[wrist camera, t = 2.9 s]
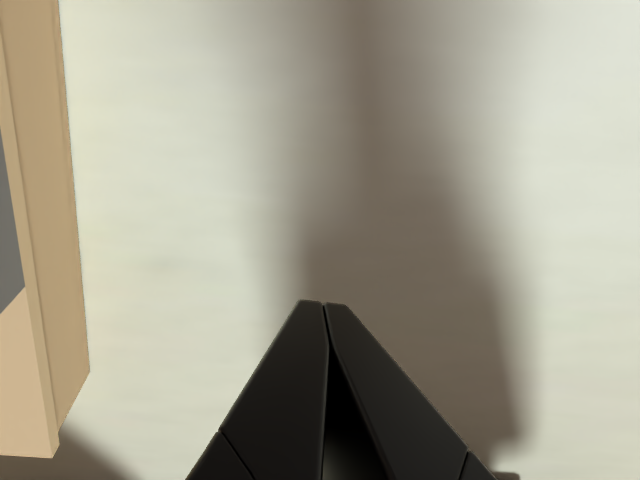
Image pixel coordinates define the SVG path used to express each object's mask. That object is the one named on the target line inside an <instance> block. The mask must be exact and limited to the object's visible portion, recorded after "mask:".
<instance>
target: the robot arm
mask: <svg viewBox="0 0 640 480" xmlns="http://www.w3.org/2000/svg"><path fill="white" fill-rule="evenodd" d="M468 450H469V447H468V445H467V444H466V443H465V442H464V441H463V440H462V439H461V437H460V436H459V435H458V434H457V433H456V432H455V430H454V429H453V428H452V427H451V426H450V425H449V423H448V422H447V421H446V420H445V419H444V418H443V417H442V415H441V414H440V413H439V412H438V411H437V410H436V408H435V407H434V406H433V405H432V404H431V403H430V401H429V400H428V399H427V398H426V397H425V396H424V394H423V393H422V392H421V391H420V390H419V389H418V388H417V386H416V385H415V384H414V383H413V382H412V381H411V379H410V378H409V377H408V376H407V375H406V374H405V372H404V371H403V370H402V369H401V368H400V367H399V365H398V364H397V363H396V362H395V361H394V360H393V359H392V357H391V356H390V355H389V354H388V353H387V352H386V350H385V349H384V348H383V347H382V346H381V345H380V343H379V342H378V341H377V340H376V339H375V338H374V336H373V335H372V334H371V333H370V332H369V331H368V330H367V328H366V327H365V326H364V325H363V324H362V323H361V321H360V320H359V319H358V318H357V317H356V316H355V314H354V313H353V312H352V311H351V310H350V309H349V307H347V306H346V305H344V304H337V303H328V302H325V303H324V304H323V305H322V303H320V302H319V301H311V300H299V301H298V302H297V303H296V305H295V306H294V308H293V310H292V311H291V313H290V314H289V316H288V318H287V319H286V321H285V322H284V324H283V326H282V327H281V329H280V330H279V332H278V334H277V335H276V337H275V339H274V340H273V342H272V343H271V345H270V347H269V348H268V350H267V351H266V353H265V355H264V356H263V358H262V359H261V361H260V363H259V364H258V366H257V368H256V369H255V371H254V372H253V374H252V376H251V377H250V379H249V380H248V382H247V384H246V385H245V387H244V388H243V390H242V392H241V393H240V395H239V397H238V398H237V400H236V401H235V403H234V405H233V406H232V408H231V409H230V411H229V413H228V414H227V416H226V417H225V419H224V421H223V422H222V424H221V425H220V427H219V429H218V432H216V433H215V435H214V436H213V438H212V439H211V441H210V443H209V444H208V446H207V447H206V449H205V451H204V452H203V454H202V455H201V457H200V458H199V460H198V461H197V463H196V464H195V466H194V467H193V469H192V470H191V472H190V473H189V475H188V476H187V478H186V479H185V480H497V479H496V477H495V476H494V475H493V474H492V473H491V472H490V471H489V470H488V468H487V467H486V466H485V465H484V464H483V463H482V461H481V460H480V459H479V458H478V457H477V456H476V454H475V453H474V452H473V451H469V452H468Z"/></svg>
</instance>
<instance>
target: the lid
mask: <svg viewBox="0 0 640 480" xmlns="http://www.w3.org/2000/svg"><path fill="white" fill-rule="evenodd" d="M59 445H60V444H59V437H58V430H57V423H56V416H55V409H54V402H53V395H52V388H51V381H50V374H49V367H48V360H47V353H46V346H45V339H44V332H43V325H42V318H41V311H40V304H39V297H38V290H37V283H36V276H35V269H34V262H33V255H32V248H31V241H30V234H29V227H28V220H27V213H26V206H25V199H24V192H23V185H22V178H21V171H20V164H19V157H18V150H17V143H16V136H15V129H14V122H13V115H12V108H11V101H10V94H9V87H8V80H7V73H6V66H5V59H4V52H3V45H2V38H1V31H0V455H8V456H23V457H39V458H53V456H54V454H55V452H56V450H57V448H58V446H59Z"/></svg>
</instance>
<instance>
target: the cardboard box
mask: <svg viewBox="0 0 640 480" xmlns="http://www.w3.org/2000/svg"><path fill="white" fill-rule="evenodd" d="M0 31H1V38H2V45H3V52H4V59H5V66H6V73H7V80H8V87H9V94H10V101H11V108H12V115H13V122H14V129H15V136H16V143H17V150H18V157H19V164H20V171H21V178H22V185H23V192H24V199H25V206H26V213H27V220H28V227H29V234H30V241H31V248H32V255H33V262H34V269H35V276H36V283H37V290H38V297H39V304H40V311H41V318H42V325H43V332H44V339H45V346H46V353H47V360H48V367H49V374H50V381H51V388H52V395H53V402H54V409H55V416H56V423H57V430H58V431H59V429H60V427H61V425H62V424H63V422H64V420H65V418H66V416H67V414H68V412H69V410H70V408H71V407H72V405H73V403H74V401H75V399H76V397H77V395H78V393H79V392H80V390H81V388H82V386H83V384H84V382H85V380H86V378H87V376H88V375H89V373H90V369H89V357H88V346H87V334H86V322H85V311H84V299H83V287H82V276H81V264H80V252H79V241H78V229H77V217H76V206H75V194H74V182H73V171H72V159H71V147H70V136H69V124H68V112H67V101H66V89H65V77H64V66H63V54H62V42H61V31H60V19H59V7H58V0H0Z"/></svg>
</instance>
